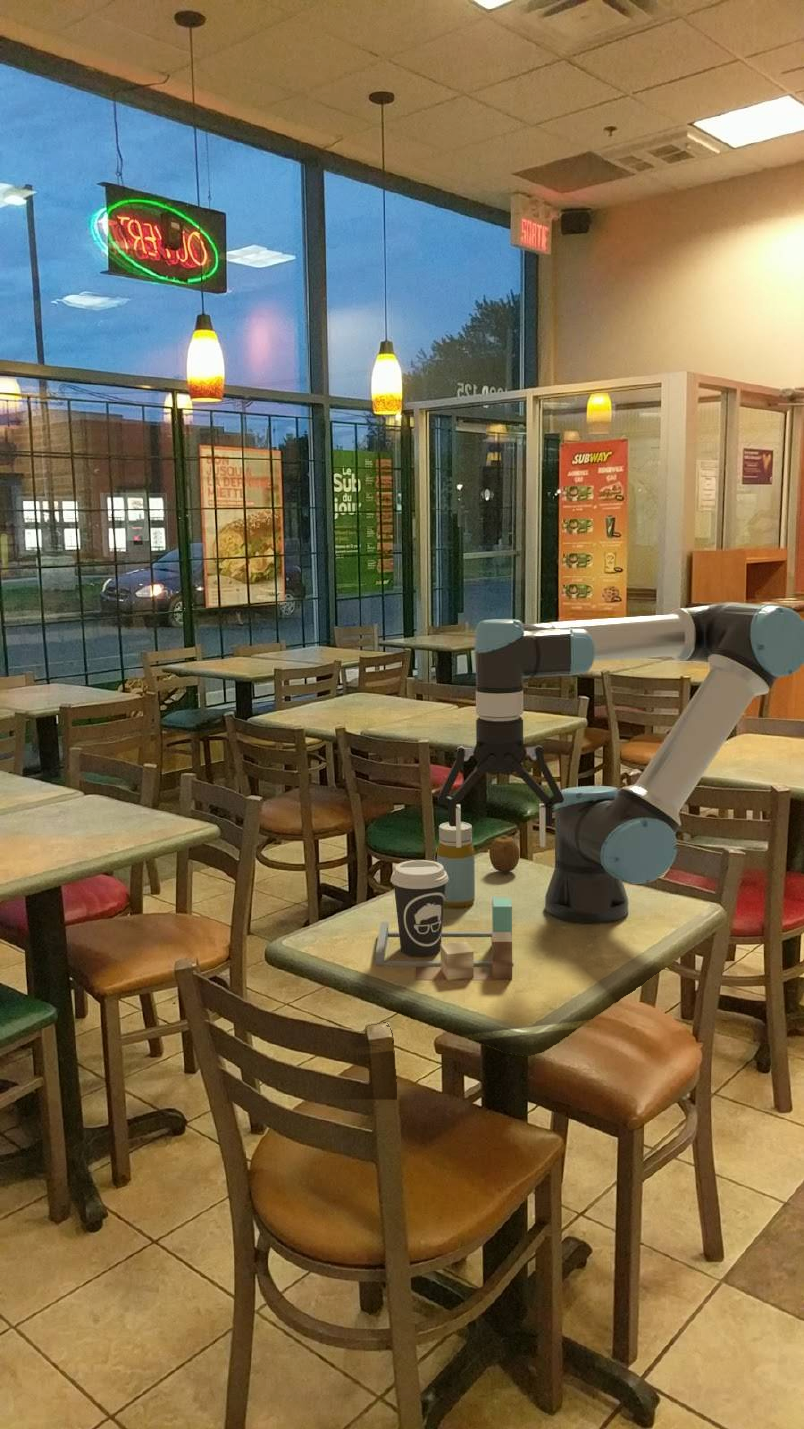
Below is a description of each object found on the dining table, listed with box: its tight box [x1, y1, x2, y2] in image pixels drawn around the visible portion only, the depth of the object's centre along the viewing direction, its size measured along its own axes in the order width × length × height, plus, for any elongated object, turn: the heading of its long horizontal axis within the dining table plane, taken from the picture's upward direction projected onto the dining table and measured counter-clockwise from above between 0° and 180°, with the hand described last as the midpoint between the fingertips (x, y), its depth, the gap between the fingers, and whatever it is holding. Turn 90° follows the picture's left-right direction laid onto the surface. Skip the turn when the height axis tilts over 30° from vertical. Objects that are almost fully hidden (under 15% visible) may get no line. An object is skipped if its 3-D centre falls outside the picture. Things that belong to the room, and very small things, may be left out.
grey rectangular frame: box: [375, 896, 514, 967], centre depth 174 cm, size 22×14×9 cm, turn 87°
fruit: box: [488, 834, 521, 874], centre depth 216 cm, size 6×6×8 cm
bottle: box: [436, 821, 476, 909], centre depth 198 cm, size 7×7×15 cm
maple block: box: [440, 941, 475, 981], centre depth 165 cm, size 4×4×4 cm
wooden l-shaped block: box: [414, 931, 513, 981], centre depth 165 cm, size 15×5×7 cm, turn 87°
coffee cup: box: [390, 859, 449, 958], centre depth 174 cm, size 10×10×15 cm
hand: (500, 845), depth 172 cm, fingers open, 13 cm apart
